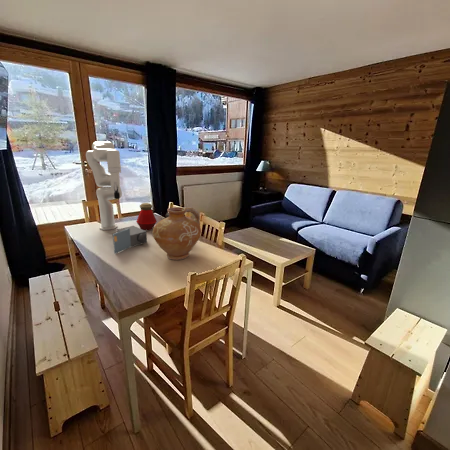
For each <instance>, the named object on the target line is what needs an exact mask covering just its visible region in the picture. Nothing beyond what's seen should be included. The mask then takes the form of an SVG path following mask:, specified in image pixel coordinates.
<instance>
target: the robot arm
mask: <svg viewBox="0 0 450 450" xmlns="http://www.w3.org/2000/svg"><path fill="white" fill-rule="evenodd" d="M91 148H92V150H87V151H86V152H85V158H86V162H87V164H88V165H89V166H88V167H89V168H90V169H91V171H92V175H93V178H94V182H95V184H96V186H97V187H99V188H97V189H96V190H95V191H96V192H95V193H96V197H97V202H98V207H99V215H100V217H99V218H100V225H99V230H101V231H103V230H104V231H110V230H115V229H116V228H118V225H117V224H116V222H115V212H114V204H113V203H112V202H111V201H110V200H117V199H118V200H119V199H121V198H122V197H123V193H122V188H121V186H120V185H121V184H120V183H121V179H120V173H122V167H121V166H122V165H121V155H120V151H119V150H118V149H115V144H114V143H113V142H112V141H103V140H102V141H101V140H100V141H98V140H97V141H94V142H93V143H92V145H91ZM100 162H101V163H103V162H104V163H106V162H107V172H108V173H106V170H105V168H104V166H103V165H102V164H101V163H100Z"/></svg>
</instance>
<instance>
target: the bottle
mask: <svg viewBox="0 0 450 450" xmlns="http://www.w3.org/2000/svg"><path fill="white" fill-rule="evenodd" d="M139 208H140V212H139V214H138V216H137V218H136V221H135V222H136V224H137V225H138V228H140V229H142V230H145V231H151V230H152V231H153V229H154V227H155V225H156V224H157V223H158V222H157V221H158V220H157V218H156V216H155V214H154V212H153V210H152V209H153V205H152V204H151V203H149V202H142V203H141V204H139Z"/></svg>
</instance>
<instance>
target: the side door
mask: <svg viewBox="0 0 450 450" xmlns="http://www.w3.org/2000/svg"><path fill="white" fill-rule="evenodd" d="M112 240H113V248H114V249H113V250H114V254H115V255H116V254H118V253H120V252H123V251H125V250H128V249H129V248H132V247H131V240H130V228H128V229H125V230H123V231H120V232H114V233H112Z"/></svg>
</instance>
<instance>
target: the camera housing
mask: <svg viewBox="0 0 450 450" xmlns="http://www.w3.org/2000/svg"><path fill="white" fill-rule="evenodd" d="M128 228H130V240H131V247H130V248H132V247H136V246H138V245H143V244H146V243H148V237H147V236H148V234H147V230H142V229H141V228H140V227H139V226H138V227H137V226H135V225H130V226H126V227H121V228H118V229H117V230H116V231H117V232H120V231H123V230H125V229H128ZM117 232H116V233H117Z"/></svg>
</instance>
